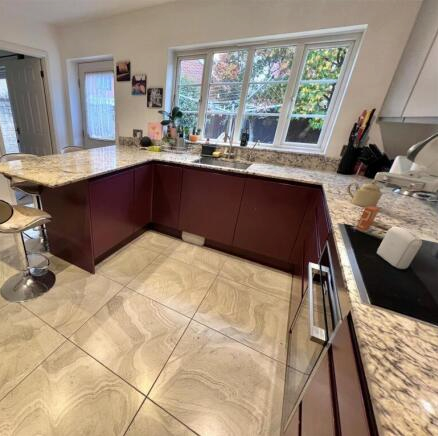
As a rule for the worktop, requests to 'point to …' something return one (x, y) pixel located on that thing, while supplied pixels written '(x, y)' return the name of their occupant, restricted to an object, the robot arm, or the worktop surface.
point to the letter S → (367, 218)
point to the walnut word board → (380, 225)
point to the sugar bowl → (366, 194)
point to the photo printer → (399, 247)
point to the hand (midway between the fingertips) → (398, 182)
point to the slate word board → (372, 232)
